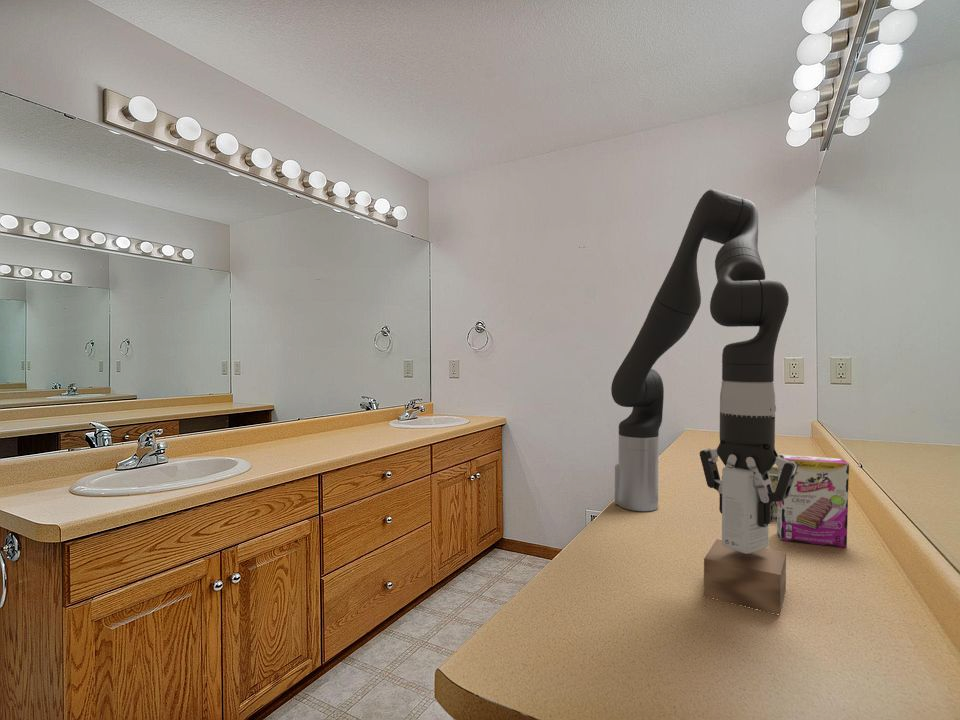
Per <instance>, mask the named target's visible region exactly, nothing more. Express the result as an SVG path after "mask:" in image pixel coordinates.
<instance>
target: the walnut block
mask: <svg viewBox="0 0 960 720" xmlns="http://www.w3.org/2000/svg"><path fill="white" fill-rule="evenodd" d="M786 586H787V551H786V552H785V551H780V550H775V549H772V548H771V549H769V548H764V549H761V550H758V551H755V552H752V553H749V554H745V553H742V552H739V551H736V550H733V549H730V548H727V547H725V546H723V545H722V539H719V538H716V539H715V541H714V543H713V544H712V546H711V547H710V549H709V550H708V552H707V553H706V555H705V556H704V558H703V597H704V596H705V597H704V598H707V597H710V598H709V599H711V598H714V599H713V600H715V599H718V600H717V601H719V600H720V602H723V601H724V602H723V603H727V602H729V603H728V604H731V603H733V604H732V605H735V604H736V606H739V605H742V606H746V607H750V608H753V609H752V610H754V609H758V610H761V611H760V612H762V611H765V612H764V613H766V612H770V613H774V614H779V615H780V616H781V614H780V613H782V610H783V609H782V608H783V605H782V604H784V600H785V594H786V589H787V587H786ZM742 606H741V607H742ZM746 607H745V608H746ZM750 608H749V609H750ZM781 609H782V610H781ZM758 610H757V611H758ZM770 613H769V614H770ZM774 614H773V615H774Z"/></svg>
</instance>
